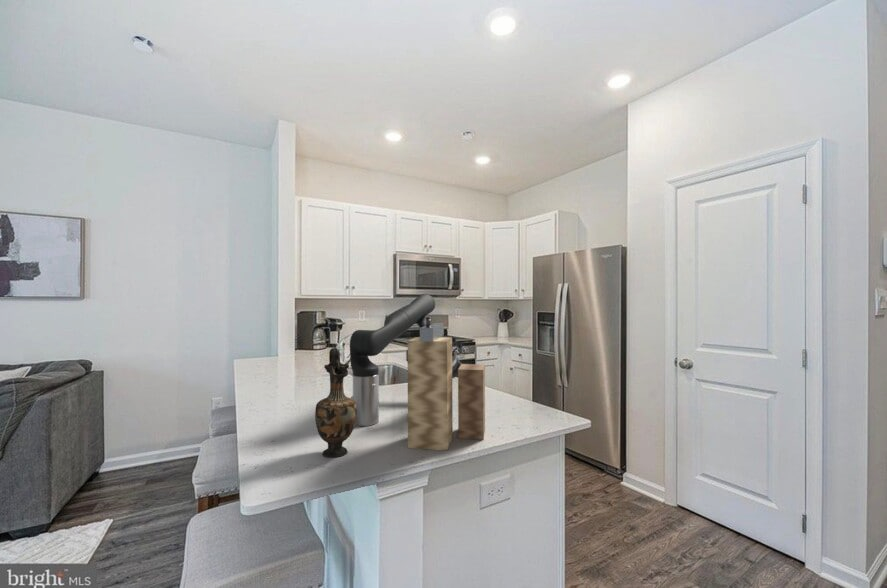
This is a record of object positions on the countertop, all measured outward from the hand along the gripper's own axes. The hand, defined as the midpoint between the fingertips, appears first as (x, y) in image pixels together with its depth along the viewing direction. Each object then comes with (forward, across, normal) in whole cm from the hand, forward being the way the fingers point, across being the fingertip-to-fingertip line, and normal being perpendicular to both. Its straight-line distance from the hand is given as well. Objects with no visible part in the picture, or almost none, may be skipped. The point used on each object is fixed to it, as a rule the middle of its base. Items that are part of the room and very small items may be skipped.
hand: (440, 338), depth 139 cm
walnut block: (-6, +12, +31) cm, 34 cm away
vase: (+12, -26, +42) cm, 50 cm away
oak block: (+2, 0, +36) cm, 36 cm away
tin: (+15, 0, +6) cm, 16 cm away
